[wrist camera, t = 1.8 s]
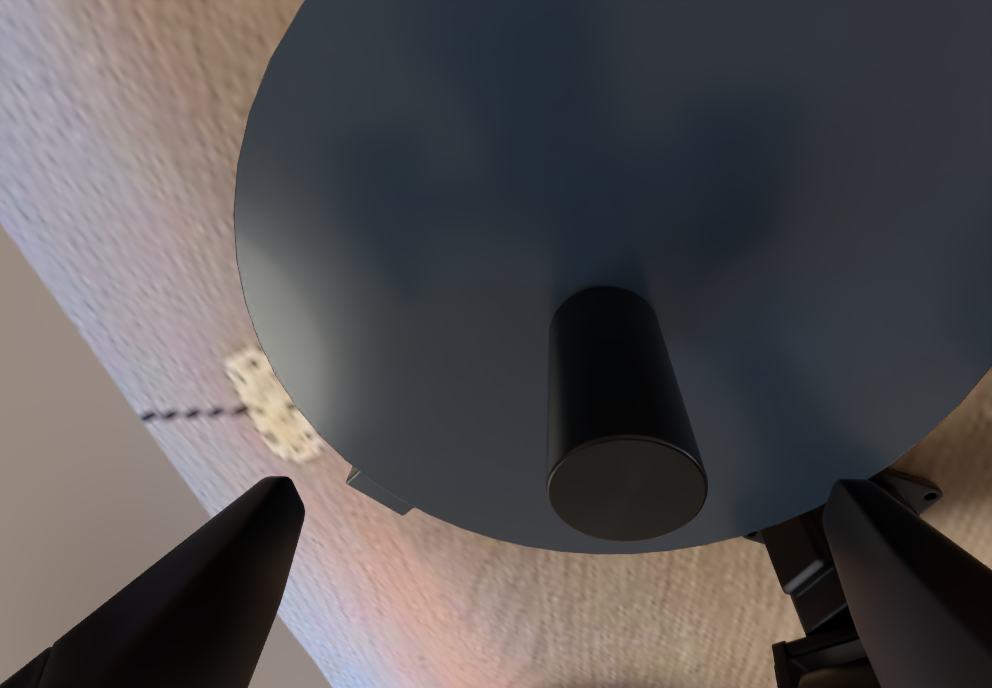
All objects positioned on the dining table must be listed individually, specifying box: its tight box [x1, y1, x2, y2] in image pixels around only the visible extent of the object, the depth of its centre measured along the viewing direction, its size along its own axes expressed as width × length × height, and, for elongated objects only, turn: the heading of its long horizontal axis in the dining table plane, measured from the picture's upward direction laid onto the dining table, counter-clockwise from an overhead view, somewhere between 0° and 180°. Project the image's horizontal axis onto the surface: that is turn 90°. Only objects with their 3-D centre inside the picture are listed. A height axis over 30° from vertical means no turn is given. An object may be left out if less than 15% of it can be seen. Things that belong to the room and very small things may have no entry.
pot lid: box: [234, 0, 992, 554], centre depth 10 cm, size 17×17×6 cm
